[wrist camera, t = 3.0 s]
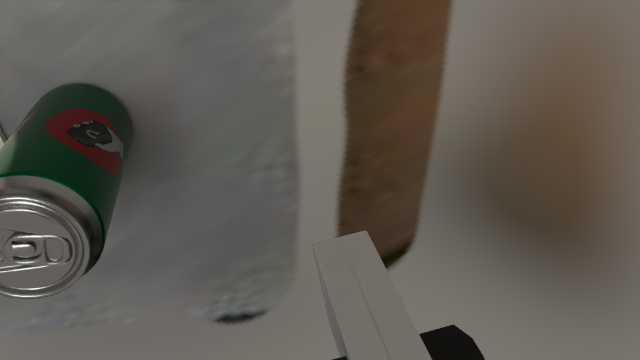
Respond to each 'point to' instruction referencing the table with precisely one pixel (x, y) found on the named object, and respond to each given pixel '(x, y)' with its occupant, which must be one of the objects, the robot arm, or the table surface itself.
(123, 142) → the soda can
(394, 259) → the table surface
